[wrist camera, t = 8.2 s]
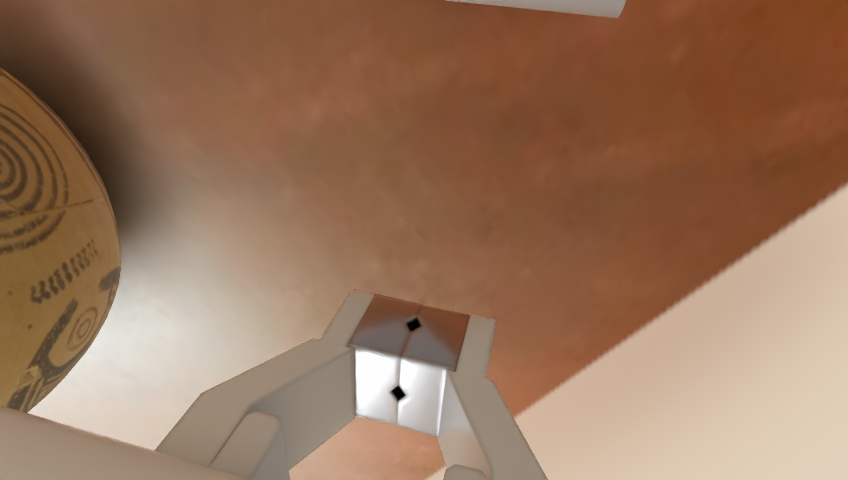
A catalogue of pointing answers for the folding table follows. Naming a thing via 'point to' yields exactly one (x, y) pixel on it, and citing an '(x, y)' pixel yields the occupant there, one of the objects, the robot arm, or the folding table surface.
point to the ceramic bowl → (48, 248)
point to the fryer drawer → (562, 6)
